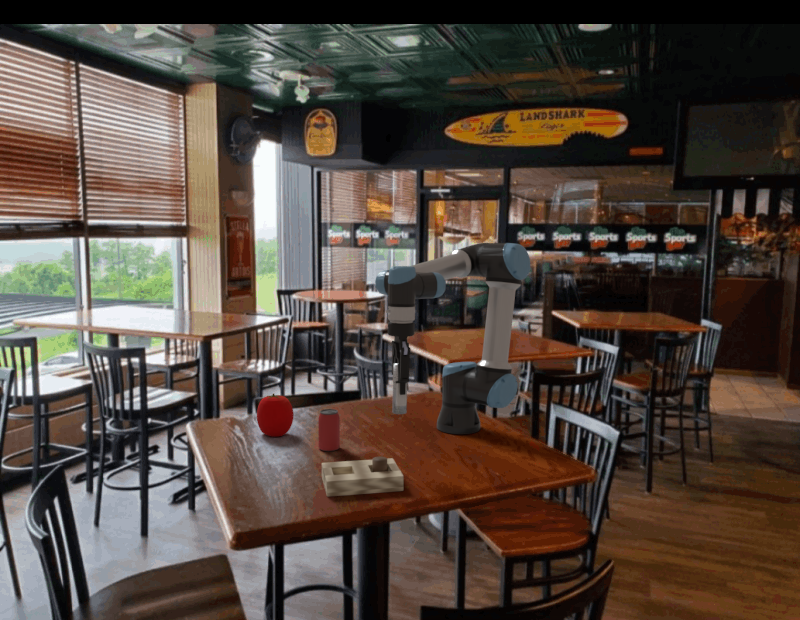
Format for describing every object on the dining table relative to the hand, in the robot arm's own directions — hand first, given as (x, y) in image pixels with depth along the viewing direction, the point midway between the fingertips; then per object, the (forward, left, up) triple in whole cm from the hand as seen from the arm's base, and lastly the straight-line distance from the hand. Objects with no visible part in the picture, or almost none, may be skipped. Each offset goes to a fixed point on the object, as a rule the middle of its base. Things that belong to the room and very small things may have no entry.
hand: (399, 403), depth 183 cm
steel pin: (0, 0, -3) cm, 3 cm away
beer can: (+18, -22, -19) cm, 34 cm away
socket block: (+12, +9, -19) cm, 25 cm away
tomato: (+34, -39, -19) cm, 55 cm away
